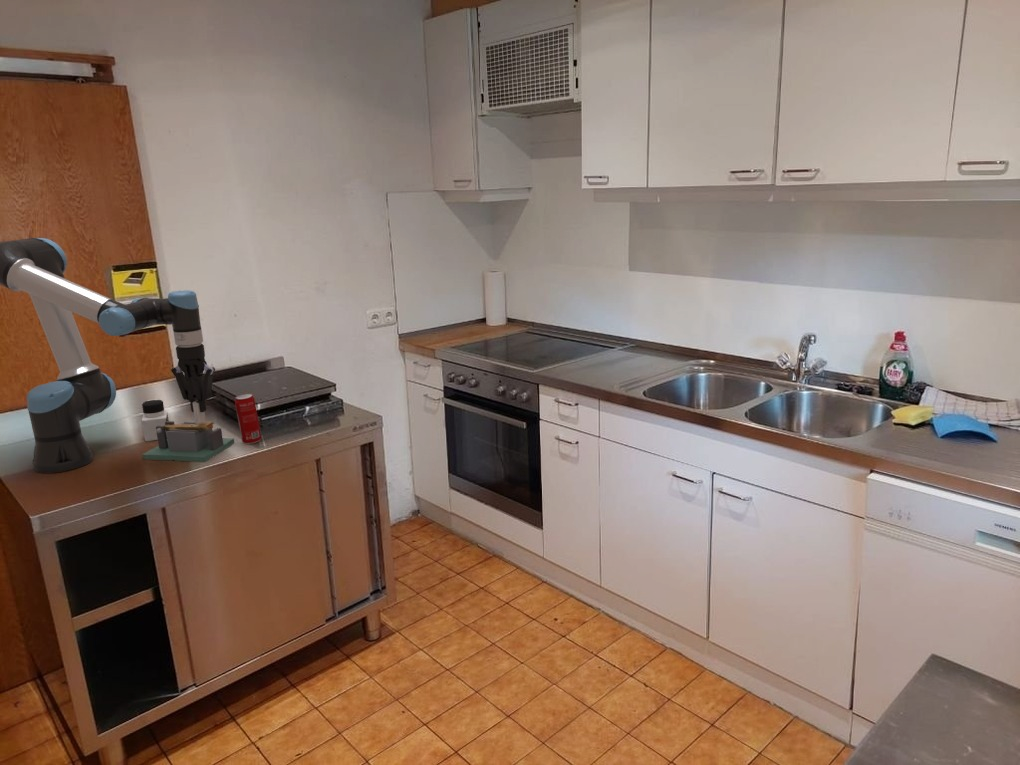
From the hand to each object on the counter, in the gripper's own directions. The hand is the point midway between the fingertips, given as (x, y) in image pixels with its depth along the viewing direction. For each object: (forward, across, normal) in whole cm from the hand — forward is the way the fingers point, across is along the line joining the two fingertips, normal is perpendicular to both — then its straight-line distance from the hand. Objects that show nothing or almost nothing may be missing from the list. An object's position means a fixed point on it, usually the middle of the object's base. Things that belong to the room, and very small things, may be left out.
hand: (200, 422), depth 221 cm
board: (+9, -5, 0) cm, 11 cm away
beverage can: (+10, +10, +10) cm, 17 cm away
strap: (+2, -5, 0) cm, 5 cm away
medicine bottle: (+10, -24, +11) cm, 28 cm away
